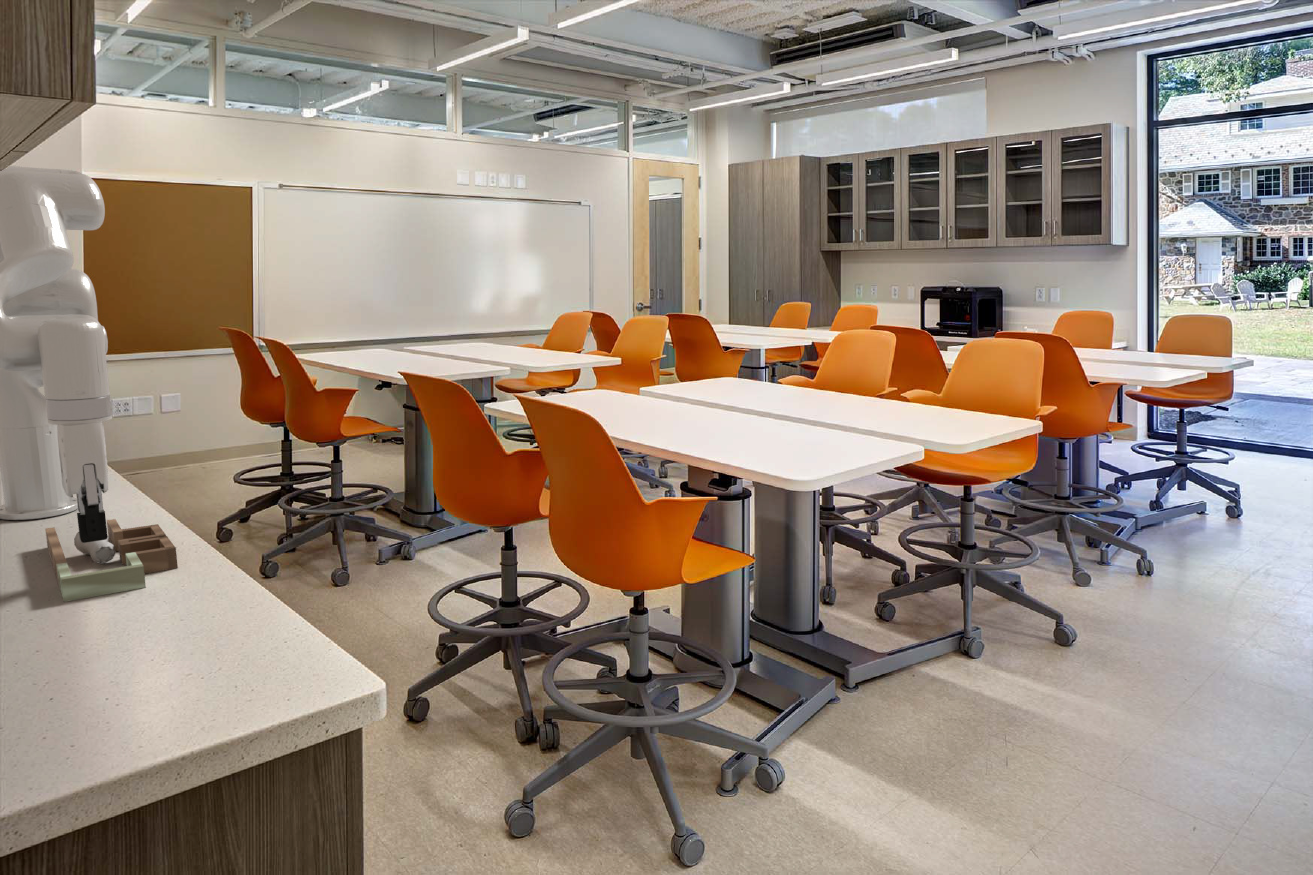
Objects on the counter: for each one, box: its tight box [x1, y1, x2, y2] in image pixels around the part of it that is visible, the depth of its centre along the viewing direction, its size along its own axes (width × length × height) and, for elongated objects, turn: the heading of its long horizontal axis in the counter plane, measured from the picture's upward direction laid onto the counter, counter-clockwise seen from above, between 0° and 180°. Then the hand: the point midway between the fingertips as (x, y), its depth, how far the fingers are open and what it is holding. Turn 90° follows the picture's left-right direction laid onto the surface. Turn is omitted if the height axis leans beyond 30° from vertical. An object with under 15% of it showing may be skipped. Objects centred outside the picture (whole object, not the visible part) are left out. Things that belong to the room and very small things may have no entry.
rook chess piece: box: [73, 531, 117, 564], centre depth 137 cm, size 4×4×8 cm
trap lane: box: [44, 518, 179, 602], centre depth 135 cm, size 29×14×3 cm, turn 37°
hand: (93, 539), depth 129 cm, fingers closed
